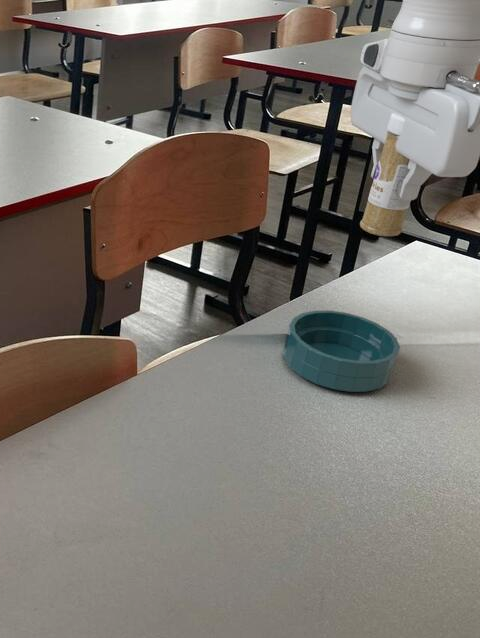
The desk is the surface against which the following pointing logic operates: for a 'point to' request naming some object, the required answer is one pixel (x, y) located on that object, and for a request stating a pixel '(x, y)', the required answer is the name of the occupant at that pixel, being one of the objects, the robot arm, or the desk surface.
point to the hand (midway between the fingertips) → (392, 188)
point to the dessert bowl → (340, 350)
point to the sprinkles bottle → (387, 187)
